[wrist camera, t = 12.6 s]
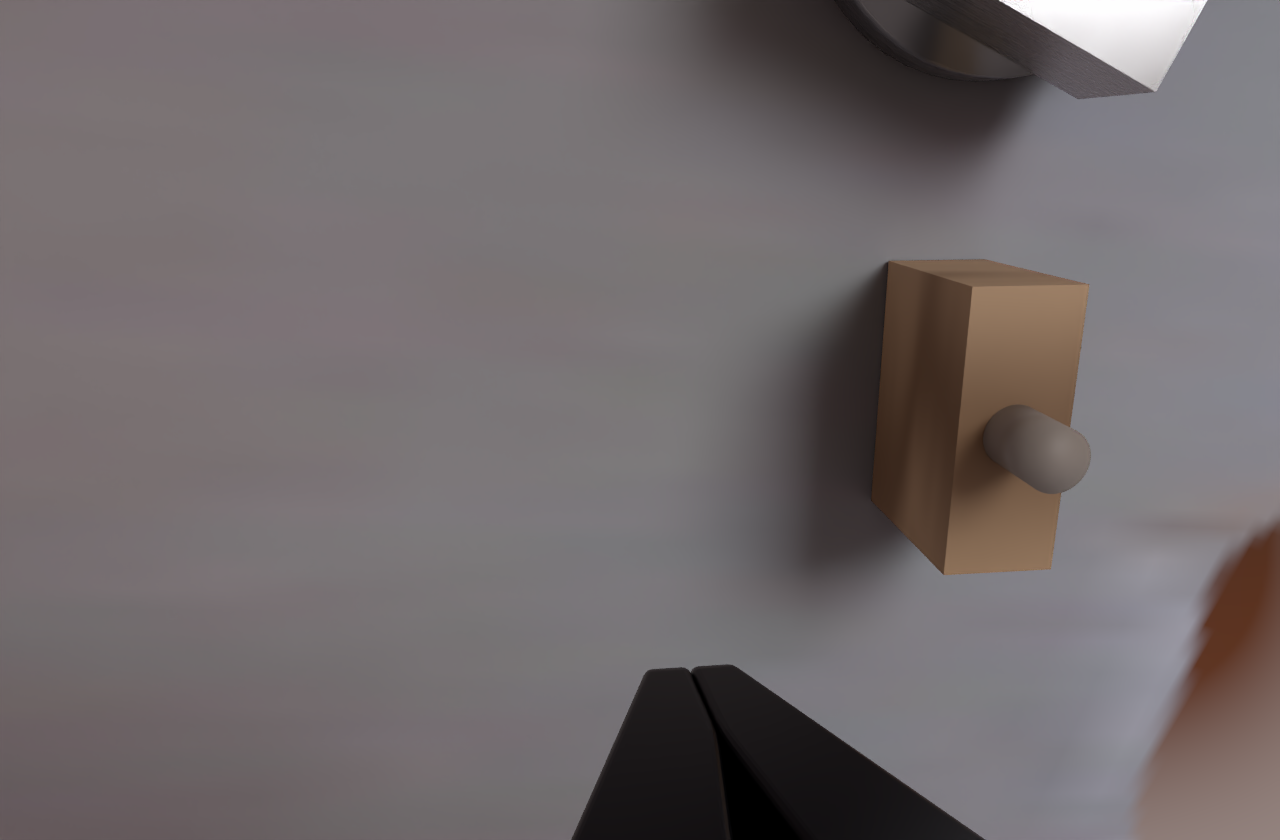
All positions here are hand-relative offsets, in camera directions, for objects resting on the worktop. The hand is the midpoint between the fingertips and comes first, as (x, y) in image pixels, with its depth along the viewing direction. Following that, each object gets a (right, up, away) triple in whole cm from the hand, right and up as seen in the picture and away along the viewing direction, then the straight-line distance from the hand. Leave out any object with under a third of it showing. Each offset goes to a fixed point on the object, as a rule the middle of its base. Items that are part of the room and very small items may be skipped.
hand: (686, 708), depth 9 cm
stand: (+6, +4, +12) cm, 14 cm away
